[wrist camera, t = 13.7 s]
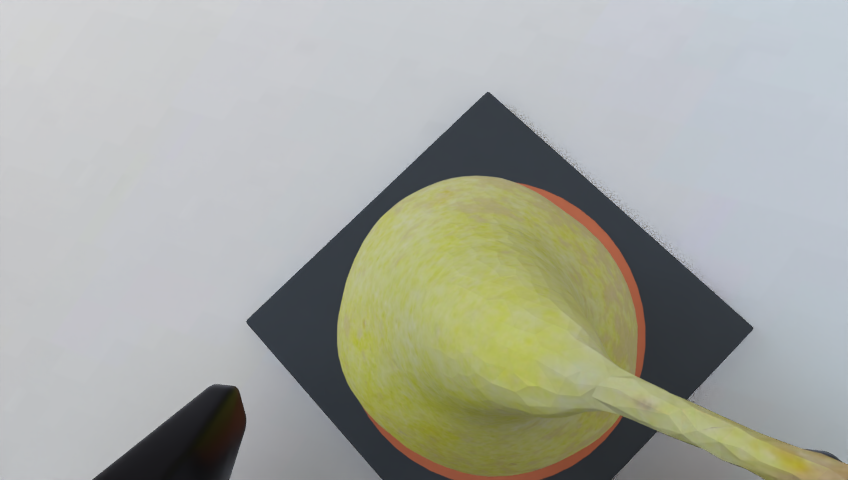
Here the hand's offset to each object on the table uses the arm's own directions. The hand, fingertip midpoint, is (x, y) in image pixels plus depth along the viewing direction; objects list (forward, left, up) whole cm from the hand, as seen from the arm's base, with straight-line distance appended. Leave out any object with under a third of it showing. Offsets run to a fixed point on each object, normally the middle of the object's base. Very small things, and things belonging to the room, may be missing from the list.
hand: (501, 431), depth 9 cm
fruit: (+1, -1, -7) cm, 8 cm away
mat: (+1, -2, -8) cm, 8 cm away
